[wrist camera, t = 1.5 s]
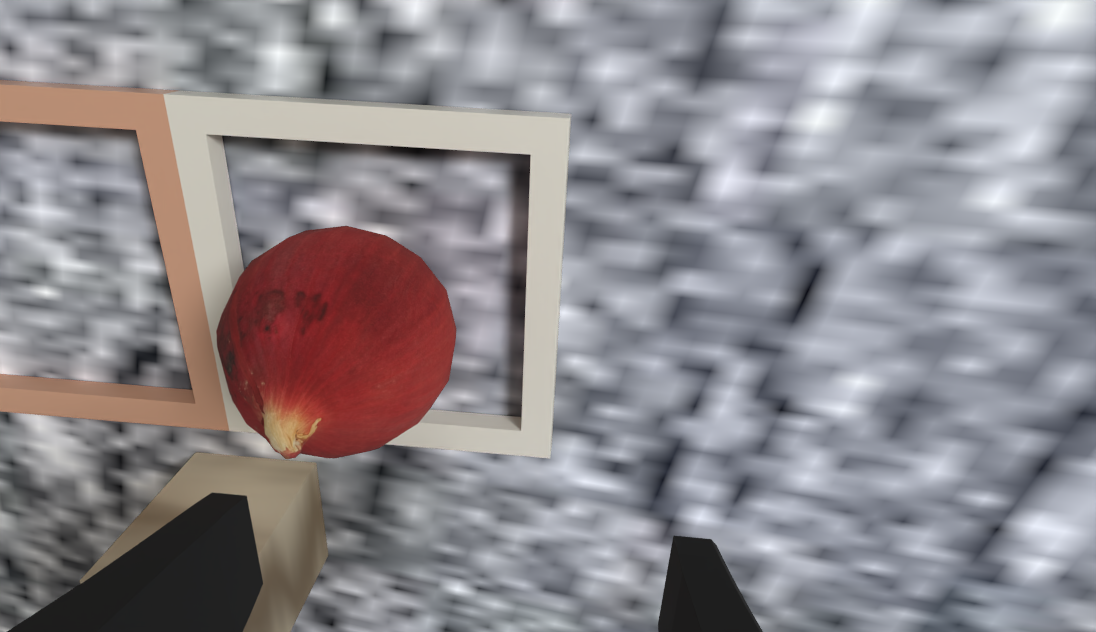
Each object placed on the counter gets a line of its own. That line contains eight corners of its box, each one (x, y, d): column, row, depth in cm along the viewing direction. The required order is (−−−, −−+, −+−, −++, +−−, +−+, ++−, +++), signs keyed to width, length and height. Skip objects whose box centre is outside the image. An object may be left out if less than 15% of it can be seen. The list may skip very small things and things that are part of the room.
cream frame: (552, 443, 23) (550, 458, 22) (241, 417, 23) (229, 430, 23) (571, 113, 18) (569, 118, 17) (180, 90, 19) (163, 94, 18)
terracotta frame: (241, 417, 23) (229, 430, 23) (-56, 392, 24) (-77, 404, 23) (180, 90, 19) (163, 94, 18) (-188, 68, 19) (-220, 71, 18)
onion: (266, 306, 21) (94, 462, 14) (339, 156, 19) (177, 250, 12) (424, 394, 22) (339, 582, 15) (511, 261, 20) (459, 408, 13)
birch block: (328, 554, 26) (256, 699, 21) (217, 544, 26) (116, 685, 21) (316, 462, 24) (233, 595, 19) (196, 451, 24) (79, 581, 19)
